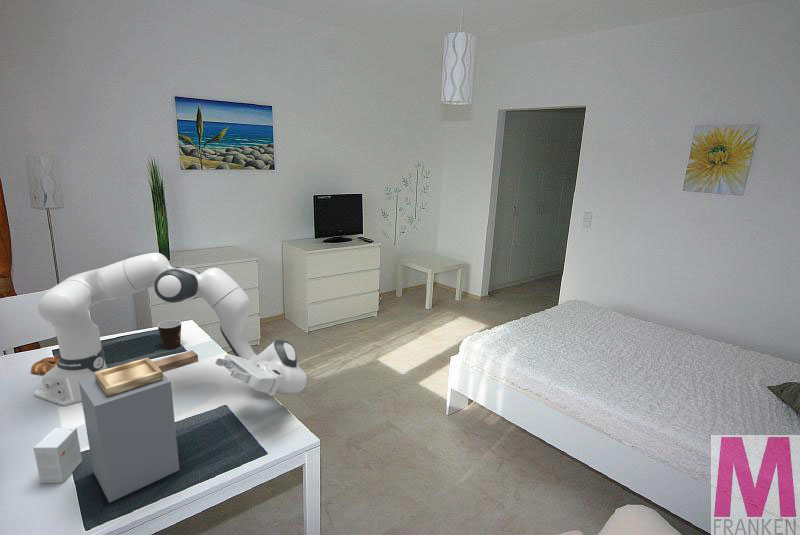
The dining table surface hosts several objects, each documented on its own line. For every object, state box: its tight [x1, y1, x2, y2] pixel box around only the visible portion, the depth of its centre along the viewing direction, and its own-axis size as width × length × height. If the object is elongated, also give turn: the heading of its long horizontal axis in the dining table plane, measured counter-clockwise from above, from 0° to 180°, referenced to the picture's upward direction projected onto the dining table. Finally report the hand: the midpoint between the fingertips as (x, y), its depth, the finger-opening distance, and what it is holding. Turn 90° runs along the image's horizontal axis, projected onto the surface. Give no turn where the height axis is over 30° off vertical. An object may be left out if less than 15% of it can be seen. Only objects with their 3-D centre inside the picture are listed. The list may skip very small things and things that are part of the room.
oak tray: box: [94, 350, 199, 397], centre depth 113 cm, size 22×10×2 cm, turn 137°
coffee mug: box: [157, 319, 182, 351], centre depth 184 cm, size 12×9×10 cm
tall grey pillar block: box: [79, 373, 180, 503], centre depth 112 cm, size 16×14×26 cm
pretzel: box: [30, 354, 59, 376], centre depth 162 cm, size 12×11×4 cm
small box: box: [33, 427, 83, 484], centre depth 113 cm, size 8×6×10 cm
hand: (224, 367), depth 128 cm, fingers open, 8 cm apart
